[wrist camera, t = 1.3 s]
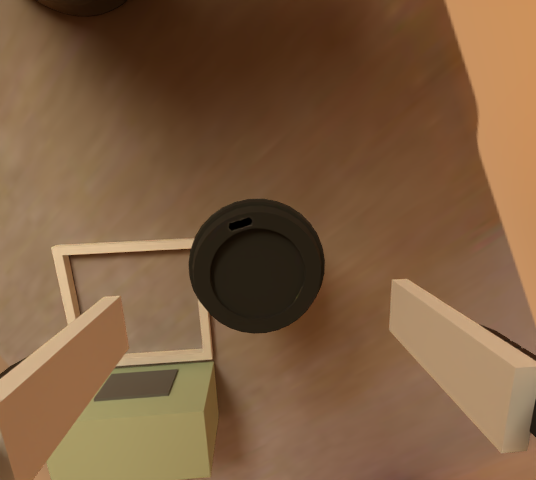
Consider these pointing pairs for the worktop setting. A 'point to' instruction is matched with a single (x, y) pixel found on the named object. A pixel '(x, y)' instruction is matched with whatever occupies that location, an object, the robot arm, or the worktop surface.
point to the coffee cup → (256, 265)
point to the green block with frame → (141, 401)
